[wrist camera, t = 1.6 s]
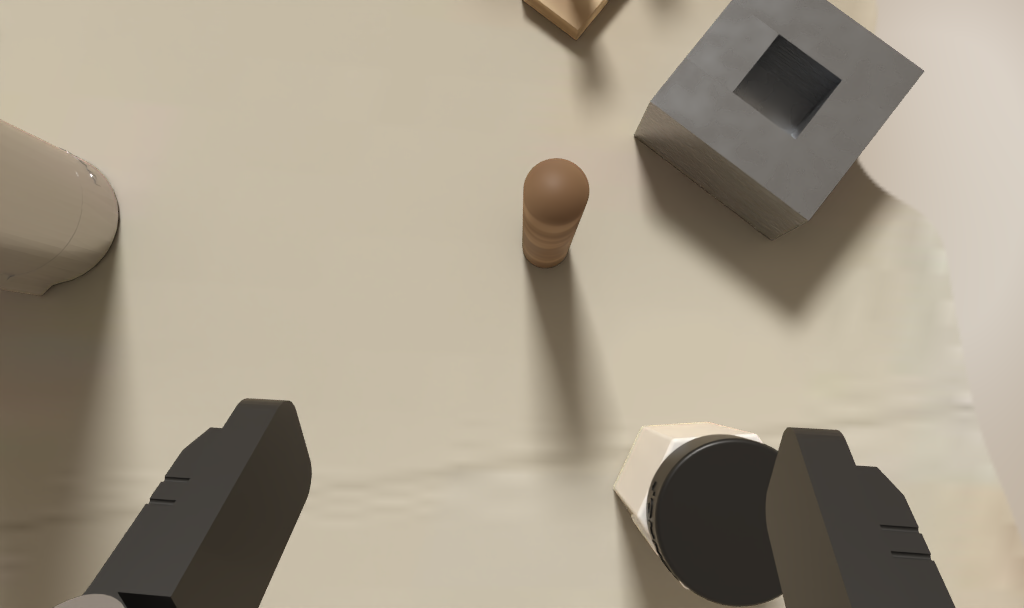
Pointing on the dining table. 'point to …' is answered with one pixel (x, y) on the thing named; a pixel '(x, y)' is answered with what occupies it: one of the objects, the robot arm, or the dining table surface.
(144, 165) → the dining table surface
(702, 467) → the jar
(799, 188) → the block
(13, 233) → the robot arm
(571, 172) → the walnut pin
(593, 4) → the peg rack
